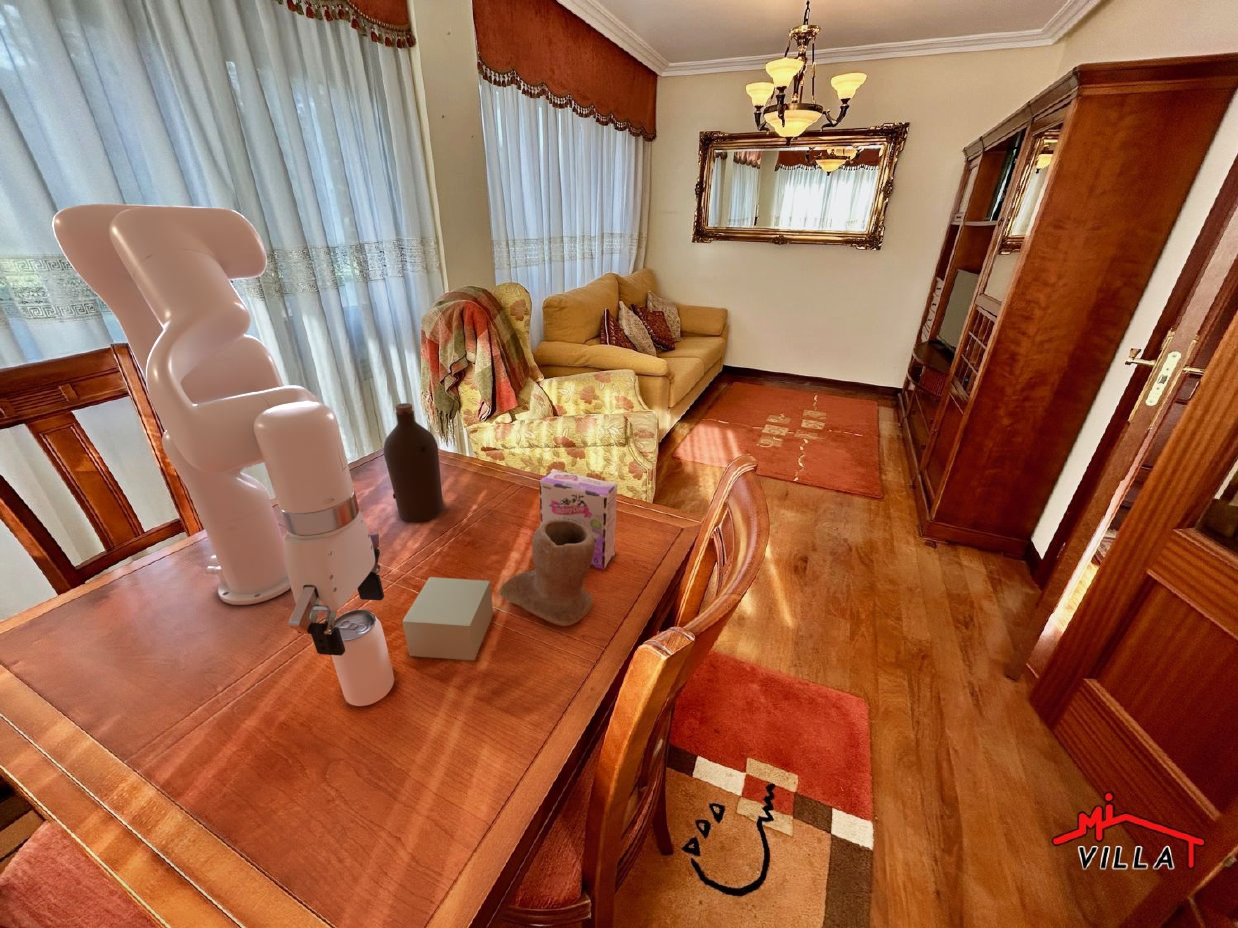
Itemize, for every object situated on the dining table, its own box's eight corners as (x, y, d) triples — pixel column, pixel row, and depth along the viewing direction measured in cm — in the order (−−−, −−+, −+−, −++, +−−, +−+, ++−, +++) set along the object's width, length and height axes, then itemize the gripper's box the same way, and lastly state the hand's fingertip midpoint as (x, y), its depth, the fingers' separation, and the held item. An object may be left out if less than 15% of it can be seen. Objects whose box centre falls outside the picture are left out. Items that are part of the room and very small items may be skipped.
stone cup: (608, 598, 88) (610, 527, 82) (565, 640, 79) (564, 564, 73) (543, 566, 96) (540, 499, 89) (497, 601, 87) (490, 529, 80)
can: (376, 712, 67) (358, 647, 62) (333, 702, 68) (312, 638, 63) (404, 673, 73) (390, 611, 67) (364, 665, 74) (347, 603, 68)
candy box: (540, 552, 100) (537, 480, 92) (554, 537, 104) (552, 467, 97) (604, 570, 95) (605, 496, 88) (615, 553, 100) (618, 481, 93)
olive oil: (454, 501, 116) (440, 399, 105) (432, 526, 107) (414, 417, 95) (411, 496, 117) (393, 395, 106) (386, 521, 108) (363, 412, 97)
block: (409, 656, 76) (401, 621, 73) (435, 609, 85) (429, 576, 81) (474, 660, 75) (469, 625, 72) (493, 613, 84) (489, 580, 81)
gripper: (332, 475, 65) (360, 579, 73) (232, 554, 50) (281, 676, 57) (389, 477, 65) (410, 582, 72) (306, 557, 49) (344, 680, 57)
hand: (353, 623), depth 65 cm, fingers open, 9 cm apart
